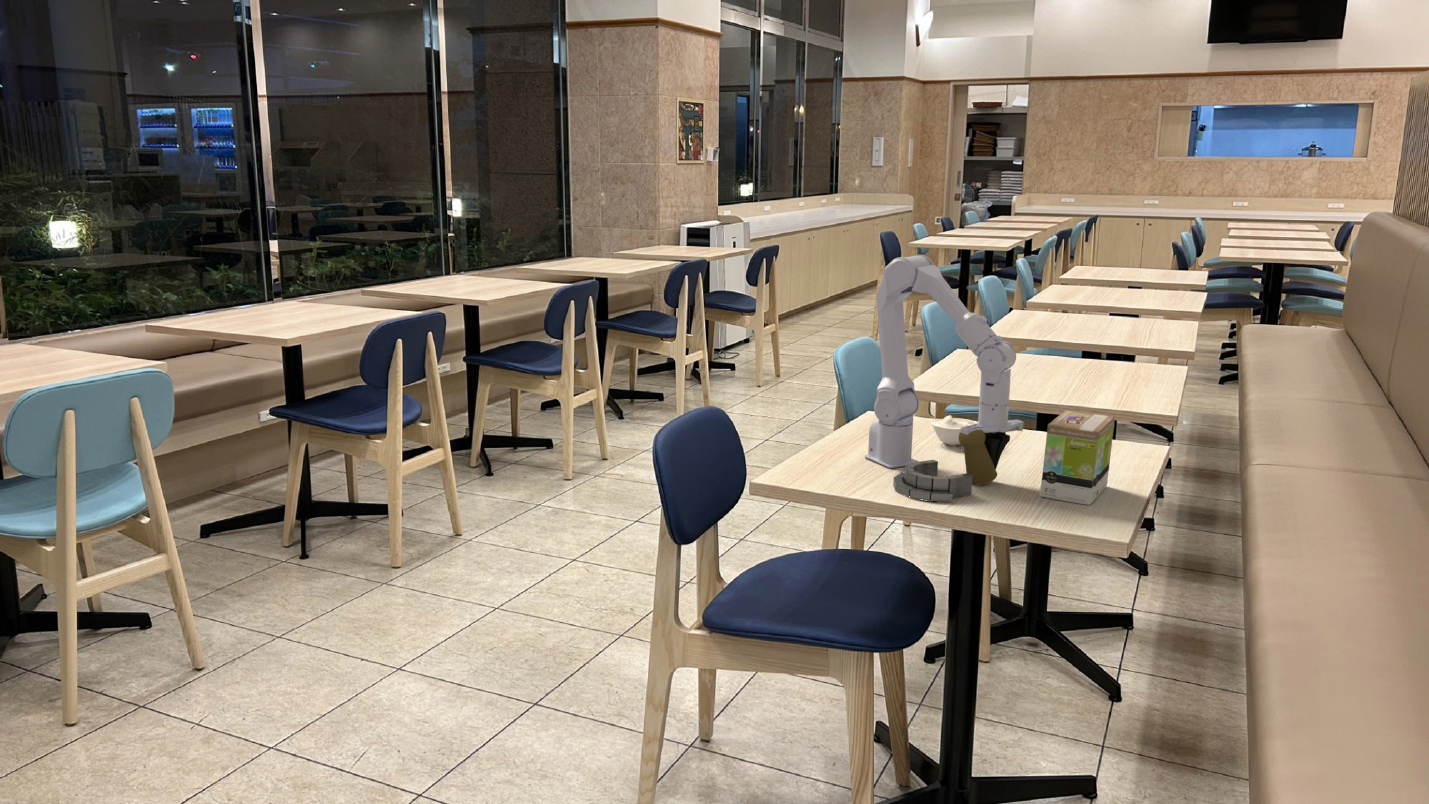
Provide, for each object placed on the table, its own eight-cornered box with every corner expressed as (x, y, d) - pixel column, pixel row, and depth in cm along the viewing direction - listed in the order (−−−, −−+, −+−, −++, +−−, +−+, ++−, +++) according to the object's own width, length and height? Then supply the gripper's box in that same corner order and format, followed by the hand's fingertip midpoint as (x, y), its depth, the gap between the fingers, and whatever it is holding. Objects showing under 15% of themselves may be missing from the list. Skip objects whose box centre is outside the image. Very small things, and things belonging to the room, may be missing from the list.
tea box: (1092, 507, 197) (1100, 431, 194) (1038, 497, 202) (1044, 423, 199) (1108, 486, 210) (1115, 414, 206) (1057, 478, 215) (1063, 408, 211)
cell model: (989, 450, 235) (991, 420, 234) (936, 450, 235) (937, 420, 233) (976, 438, 245) (978, 410, 244) (925, 438, 245) (927, 410, 243)
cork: (998, 481, 208) (986, 433, 204) (968, 487, 209) (955, 440, 205) (996, 466, 213) (984, 419, 209) (966, 472, 215) (953, 426, 211)
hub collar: (878, 483, 210) (879, 464, 209) (926, 475, 215) (927, 457, 214) (927, 506, 196) (929, 486, 195) (977, 498, 202) (979, 478, 201)
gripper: (979, 411, 202) (975, 478, 205) (1035, 403, 209) (1031, 468, 212) (955, 403, 208) (951, 469, 211) (1011, 396, 215) (1006, 460, 218)
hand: (989, 468), depth 212 cm, fingers closed, pressing on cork
